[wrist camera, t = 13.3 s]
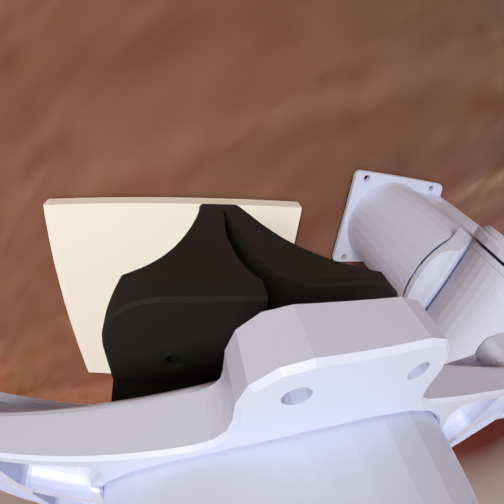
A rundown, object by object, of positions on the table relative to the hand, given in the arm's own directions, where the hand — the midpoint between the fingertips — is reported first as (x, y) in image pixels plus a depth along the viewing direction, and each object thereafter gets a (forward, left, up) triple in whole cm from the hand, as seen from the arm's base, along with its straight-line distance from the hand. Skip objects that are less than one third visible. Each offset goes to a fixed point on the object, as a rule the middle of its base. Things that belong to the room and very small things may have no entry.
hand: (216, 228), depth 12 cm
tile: (+2, +12, -10) cm, 16 cm away
